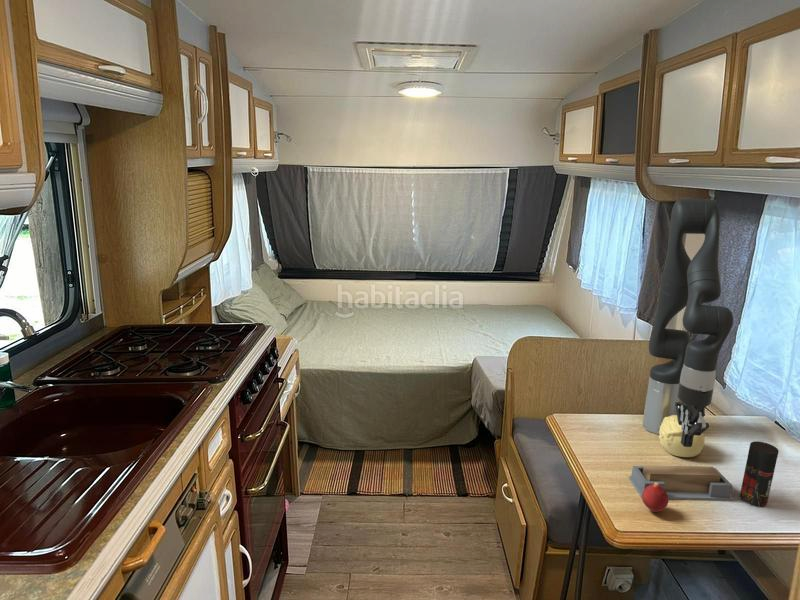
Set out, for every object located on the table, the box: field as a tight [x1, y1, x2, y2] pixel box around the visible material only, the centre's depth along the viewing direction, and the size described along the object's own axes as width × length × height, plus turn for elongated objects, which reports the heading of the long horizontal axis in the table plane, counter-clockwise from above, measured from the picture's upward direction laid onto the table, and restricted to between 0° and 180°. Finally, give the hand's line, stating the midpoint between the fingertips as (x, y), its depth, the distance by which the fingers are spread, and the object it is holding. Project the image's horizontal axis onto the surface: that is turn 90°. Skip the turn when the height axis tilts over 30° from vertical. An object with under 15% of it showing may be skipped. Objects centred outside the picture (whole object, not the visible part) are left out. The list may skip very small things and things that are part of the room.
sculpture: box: [658, 415, 706, 458], centre depth 160 cm, size 11×12×11 cm
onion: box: [641, 482, 669, 513], centre depth 133 cm, size 6×6×8 cm
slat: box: [643, 464, 721, 492], centre depth 143 cm, size 4×18×5 cm, turn 89°
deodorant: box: [739, 440, 779, 508], centre depth 137 cm, size 6×6×15 cm
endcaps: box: [627, 465, 734, 502], centre depth 143 cm, size 9×23×4 cm, turn 89°
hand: (686, 445), depth 140 cm, fingers closed
